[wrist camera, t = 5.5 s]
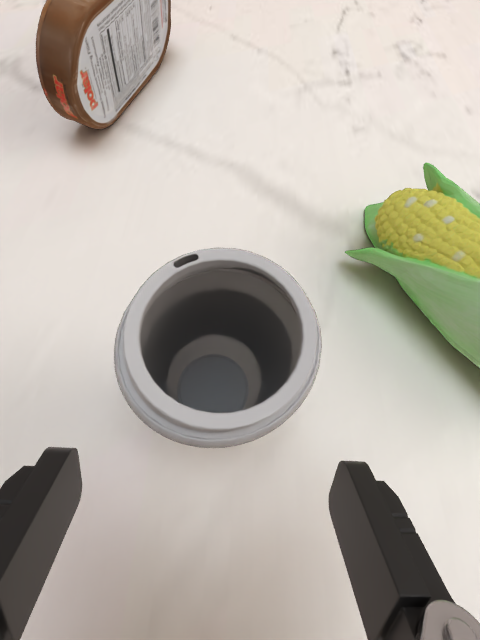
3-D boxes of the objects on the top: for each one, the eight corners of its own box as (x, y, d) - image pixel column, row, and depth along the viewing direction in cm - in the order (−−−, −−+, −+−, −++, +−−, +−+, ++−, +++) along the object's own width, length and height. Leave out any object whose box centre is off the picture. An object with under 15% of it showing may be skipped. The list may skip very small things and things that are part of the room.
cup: (237, 322, 23) (269, 207, 12) (286, 409, 21) (377, 372, 10) (140, 368, 21) (68, 285, 10) (184, 467, 20) (158, 501, 8)
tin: (152, 40, 32) (134, -90, 24) (181, 51, 32) (173, -76, 24) (63, 142, 27) (4, 18, 19) (98, 156, 27) (53, 37, 19)
